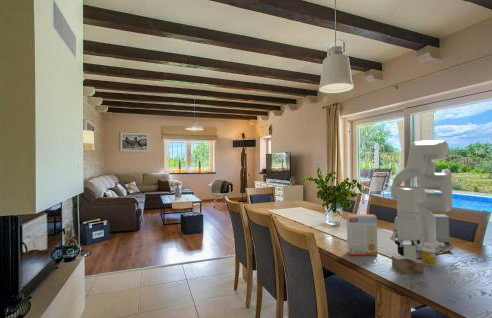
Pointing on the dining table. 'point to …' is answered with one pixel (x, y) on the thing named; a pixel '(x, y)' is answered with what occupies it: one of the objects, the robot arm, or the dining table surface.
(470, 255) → the dining table surface
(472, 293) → the dining table surface
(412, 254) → the sage cube
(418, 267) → the walnut block
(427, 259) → the supplement bottle
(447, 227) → the skincare box
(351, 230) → the cracker box
